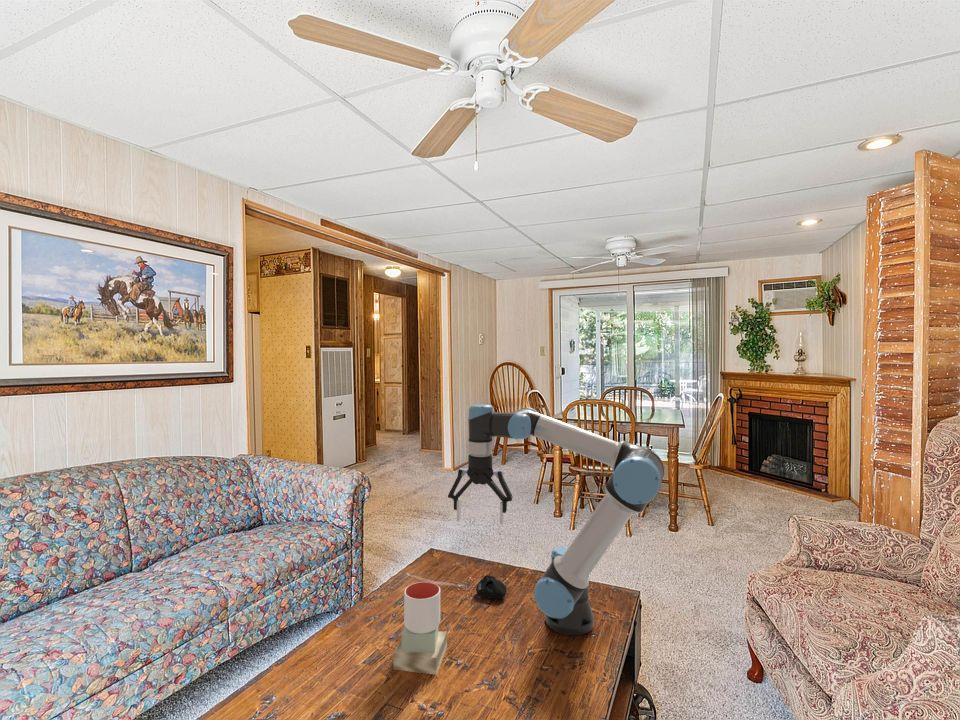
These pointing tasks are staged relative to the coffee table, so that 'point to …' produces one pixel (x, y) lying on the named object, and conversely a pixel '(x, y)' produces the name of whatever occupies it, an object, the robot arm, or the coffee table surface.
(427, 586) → the cup
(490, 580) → the rock
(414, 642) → the tower top
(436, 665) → the tower base
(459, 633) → the coffee table surface
